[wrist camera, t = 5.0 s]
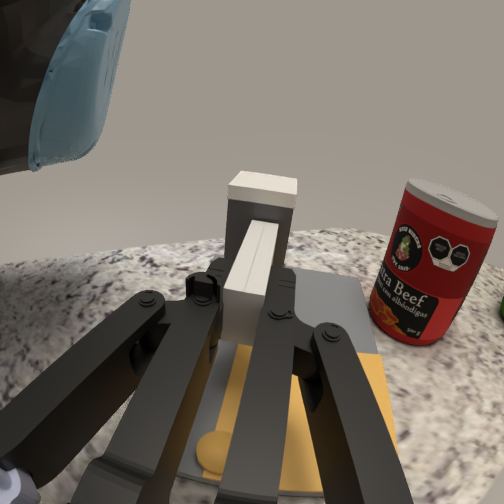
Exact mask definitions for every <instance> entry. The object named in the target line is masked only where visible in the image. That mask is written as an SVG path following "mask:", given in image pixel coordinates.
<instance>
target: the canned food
mask: <svg viewBox="0 0 504 504" xmlns="http://www.w3.org/2000/svg"><path fill="white" fill-rule="evenodd" d="M497 222H498V217H497V215H496V214H495V213H494V212H493V211H492V210H490V209H489V208H488V207H486V206H484V205H483V204H481V203H480V202H478V201H476V200H474V199H472V198H471V197H469V196H467V195H464V194H462V193H460V192H458V191H456V190H453V189H450V188H448V187H445V186H442V185H440V184H436V183H434V182H430V181H427V180H422V179H416V178H412V179H408V182H407V185H406V187H405V190H404V194H403V198H402V201H401V204H400V208H399V211H398V215H397V218H396V222H395V225H394V229H393V232H392V235H391V238H390V241H389V244H388V247H387V251H386V254H385V256H384V259H383V262H382V265H381V268H380V271H379V274H378V276H377V279H376V282H375V284H374V287H373V290H372V292H371V295H370V308H369V309H370V313H371V315H372V317H373V319H374V321H375V322H376V323H377V325H378V326H379V327H380V328H381V329H382V330H383V331H385V332H386V333H387V334H389V335H390V336H392V337H394V338H396V339H397V340H400V341H402V342H405V343H409V344H413V345H428V344H431V343H434V342H435V341H437V340H438V339H439V338H441V337H442V336H443V335H444V334H445V333H446V331H447V330H448V328H449V327H450V325H451V323H452V321H453V320H454V318H455V316H456V315H457V313H458V311H459V309H460V308H461V306H462V304H463V302H464V300H465V298H466V296H467V294H468V293H469V291H470V289H471V287H472V285H473V283H474V281H475V278H476V276H477V274H478V272H479V270H480V268H481V266H482V263H483V261H484V259H485V256H486V254H487V252H488V249H489V247H490V244H491V242H492V239H493V235H494V233H495V230H496V228H497Z"/></svg>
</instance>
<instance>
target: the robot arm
mask: <svg viewBox="0 0 504 504" xmlns="http://www.w3.org/2000/svg"><path fill="white" fill-rule="evenodd" d="M130 2H131V0H0V175H4V174H9V173H15V172H20V171H26V170H31V171H32V172H35V171H38V170H40V169H41V168H42V167H43V166H47V165H52V164H57V163H63V162H68V161H73V160H77V159H79V158H81V157H83V156H85V155H86V154H88V153H89V152H90V151H91V150H92V149H93V147H94V146H95V145H96V143H97V142H98V140H99V137H100V135H101V133H102V130H103V126H104V123H105V119H106V115H107V111H108V106H109V101H110V97H111V93H112V88H113V84H114V79H115V74H116V70H117V65H118V60H119V56H120V52H121V47H122V42H123V38H124V34H125V29H126V25H127V20H128V15H129V10H130ZM278 225H279V224H275V223H269V222H262V221H256V220H252V221H251V224H250V226H249V228H248V231H247V233H246V236H245V238H244V240H243V243H242V245H241V247H240V250H239V252H238V255H237V257H236V259H235V260H232V259H226V258H221V257H218V258H217V259H215V260H214V261H212V262H211V264H210V266H209V267H208V269H207V271H206V272H197V273H193V274H191V275H189V276H188V277H187V278H186V298H185V299H184V300H179V301H165V298H164V296H163V295H162V294H161V293H159V292H157V291H154V290H145V291H141V292H139V293H137V294H135V295H134V296H133V297H131V298H130V299H129V300H128V301H126V302H125V303H124V304H123V305H121V306H120V307H119V308H118V309H116V310H115V311H114V312H113V313H112V314H110V315H109V316H108V317H107V318H105V319H104V320H103V321H102V322H101V323H99V324H98V325H97V326H96V327H95V328H93V329H92V330H91V331H90V332H89V333H87V334H86V335H85V336H84V337H83V338H82V339H80V340H79V341H78V342H77V343H76V344H74V345H73V346H72V347H71V348H70V349H69V350H67V351H66V352H65V353H64V354H63V355H62V356H61V357H59V358H58V359H57V360H56V361H55V362H54V363H52V364H51V365H50V366H49V367H48V368H47V369H46V370H45V371H43V372H42V373H41V374H40V375H39V376H38V377H37V378H36V379H35V380H33V381H32V382H31V383H30V384H29V385H28V386H27V387H26V388H25V389H24V390H22V391H21V392H20V393H19V394H18V395H17V396H16V397H15V398H14V399H13V400H12V401H11V402H10V403H8V404H7V405H6V406H5V407H4V408H3V409H2V410H1V411H0V504H39V503H40V501H41V497H40V494H39V492H38V491H37V489H38V488H40V487H42V486H44V485H46V484H47V483H49V482H50V481H52V480H53V479H54V478H55V477H56V476H57V475H58V474H60V473H61V472H62V471H63V469H64V468H65V467H66V466H67V465H68V464H69V463H70V462H71V461H72V460H73V458H74V457H75V456H76V455H77V454H78V453H79V452H80V451H81V450H82V449H83V447H84V446H85V445H86V444H87V443H88V442H89V441H90V440H91V439H92V437H93V436H94V435H95V434H96V433H97V432H98V431H99V430H100V429H101V427H102V426H103V425H104V424H105V423H106V422H107V421H108V420H109V419H110V418H111V416H112V415H113V414H114V413H115V412H116V411H117V410H118V409H119V407H120V406H121V405H122V404H123V403H124V402H125V401H126V400H127V399H128V397H129V396H130V395H131V394H132V393H133V392H134V391H135V390H136V391H135V393H134V395H133V397H132V399H131V401H130V402H129V404H128V406H127V408H126V410H125V412H124V414H123V416H122V418H121V420H120V423H119V425H118V427H117V429H116V431H115V433H114V435H113V437H112V439H111V441H110V443H109V445H108V447H107V449H106V451H105V453H104V454H103V455H102V456H101V457H98V458H95V459H93V460H92V461H91V462H90V463H89V465H88V466H87V468H86V470H85V472H84V474H83V476H82V478H81V480H80V482H79V485H78V487H77V489H76V491H75V493H74V496H73V498H72V500H71V502H70V503H67V504H169V496H170V492H171V489H172V486H173V483H174V480H175V477H176V474H177V471H178V468H179V465H180V462H181V459H182V456H183V453H184V450H185V447H186V444H187V441H188V438H189V435H190V432H191V429H192V426H193V423H194V420H195V417H196V414H197V411H198V408H199V405H200V402H201V399H202V396H203V393H204V390H205V387H206V384H207V381H208V378H209V375H210V372H211V369H212V366H213V363H214V360H215V357H216V354H217V351H218V341H219V338H220V335H221V340H222V341H227V342H232V343H237V344H242V345H248V346H253V347H252V352H251V356H250V361H249V365H248V370H247V374H246V379H245V383H244V387H243V392H242V396H241V400H240V404H239V409H238V413H237V417H236V421H235V426H234V430H233V434H232V438H231V442H230V446H229V450H228V454H227V458H226V462H225V466H224V470H223V474H222V478H221V482H220V486H219V490H218V493H217V497H216V499H215V502H214V504H277V499H278V492H279V485H280V478H281V471H282V463H283V456H284V448H285V439H286V431H287V422H288V412H289V402H290V391H291V380H292V374H293V375H295V376H298V382H299V386H300V391H301V395H302V399H303V404H304V408H305V412H306V417H307V421H308V425H309V430H310V434H311V439H312V443H313V448H314V452H315V457H316V461H317V466H318V470H319V475H320V480H321V484H322V489H323V494H324V498H325V503H326V504H414V503H413V500H412V497H411V493H410V490H409V487H408V484H407V481H406V478H405V475H404V472H403V469H402V467H401V464H400V461H399V458H398V455H397V452H396V450H395V447H394V444H393V442H392V439H391V436H390V433H389V431H388V428H387V426H386V423H385V420H384V418H383V415H382V413H381V410H380V408H379V405H378V403H377V400H376V398H375V395H374V393H373V390H372V388H371V386H370V383H369V381H368V378H367V376H366V374H365V371H364V369H363V367H362V364H361V362H360V360H359V357H358V355H357V353H356V350H355V348H354V346H353V344H352V341H351V339H350V337H349V335H348V333H347V332H346V330H345V329H344V328H343V327H341V326H340V325H337V324H335V323H330V322H325V323H320V324H319V325H317V326H316V327H312V326H310V325H307V324H305V323H303V322H302V321H301V320H299V318H298V317H297V316H296V314H295V310H294V307H295V288H296V274H295V273H294V271H293V270H292V269H290V268H284V267H278V266H272V263H273V257H274V251H275V244H276V238H277V232H278Z"/></svg>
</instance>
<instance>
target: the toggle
mask: <svg viewBox="0 0 504 504" xmlns="http://www.w3.org/2000/svg"><path fill="white" fill-rule="evenodd" d="M296 197H297V179H294V178H289V177H282V176H275V175H269V174H262V173H255V172H246V171H241V172H239V174H238V175H237V176H236V177H235V178H234V179H233V180H232V181H231V182H230V183H229V185H228V196H227V199H228V211H227V223H226V237H225V252H224V258H226V259H232V260H235V259H236V257H237V255H238V252H239V250H240V247H241V245H242V243H243V240H244V238H245V236H246V233H247V231H248V228H249V226H250V224H251V221H252V220H256V221H262V222H269V223H275V224H279V225H278V232H277V238H276V244H275V251H274V257H273V263H272V266H278V267H283V265H284V260H285V254H286V249H287V243H288V238H289V232H290V226H291V220H292V215H293V209H294V208H295V203H296Z"/></svg>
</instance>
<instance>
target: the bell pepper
mask: <svg viewBox="0 0 504 504" xmlns="http://www.w3.org/2000/svg"><path fill="white" fill-rule="evenodd" d="M501 314H502V316H503V318H504V296H503V299H502V303H501Z"/></svg>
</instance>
